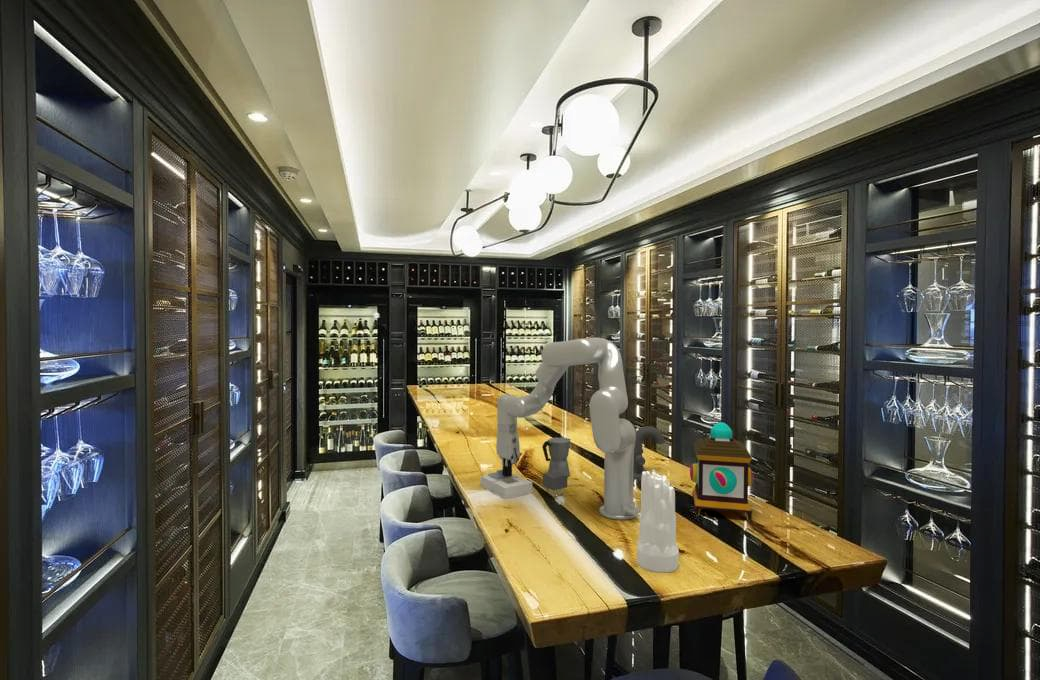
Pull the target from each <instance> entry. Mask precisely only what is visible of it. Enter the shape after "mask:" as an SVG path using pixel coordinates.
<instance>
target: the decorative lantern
mask: <svg viewBox="0 0 1040 680" xmlns="http://www.w3.org/2000/svg"><path fill="white" fill-rule="evenodd" d="M693 447H694V452H695V456H696V462H695V463H692V464H691V465H690V468H689V476H690V477H689V478H690V480H691V482H692V483H695V484H694V485H695V486H694V487H693V489H692V492H691V493H692V499H693V505H694V514H695V516H696V517H699V516H700V513H701V510H702V509H703V510H712V511H713V510H715V511H725V512H726V511H727V512H737V513H744V514H745V515H746V520H747V521H748V522H750V521H752V517H753V510H752V507H751V505H750V503H749V498H748V497H749V488H750V486H752V484H753V483H754V474H753V470H752V468H751V467H749V464H750V463H751V461H752V455H751V454H750V452H749V450H748V449H747V447H746V446H745V445H744V443H742V442H741V441H740V440H737V439H735V438H734V437H733V430H732V429H731V427H730V426H729V425H728V424H727V423H725V422H717V423H715V424H714V425H713V426H712V427H711V428H710V433H709V435H707V436H706V437H704V438H698V439H697V440H695V441H694V443H693Z"/></svg>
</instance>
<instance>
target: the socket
mask: <svg viewBox="0 0 1040 680" xmlns="http://www.w3.org/2000/svg"><path fill="white" fill-rule="evenodd" d="M480 487H481V488H483V489H485V490H487V491H489V492H491V493H493V494H494V495H497V496H499V497H501V498H503V499H504V500H507V499H511V498H515V497H516V496H517V497H520V495H521V496H524V494H526V495H529V493H530V494H533V481H531V480H528V479H525V478H523V477H521V476H519V475H517V474H514V473H512V477H509V478H504V479H499V480H497V479H495V478H493V477H490V476H488V474H484V475H480Z"/></svg>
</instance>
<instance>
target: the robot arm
mask: <svg viewBox="0 0 1040 680" xmlns="http://www.w3.org/2000/svg"><path fill="white" fill-rule="evenodd" d="M541 361H542V363H541V364H540V365H539V366H538V368H536V370H535V377H536V379H537V380H538V381H537V383H536V385H535V387H534V388H533V390H532V391H531V392H530V394H527V395H524V396H523V395H522V396H518V397H517V396H515V395H514V394H500V395H499V396H498V397H497V399H496V400H497V401H496V402H497V405H496V407H497V411H496V414H497V417H496V419H497V421H496V422H497V423H496V424H497V425H496V427H497V428H496V429H497V432H496V433H497V434H496V444H495V447H496V455H497V456H498V458H499V459H500V461H501V465H502V469H503V476H505V477H508V476H512V474H513V465H514V464H516V463H517V459H520V456H521V455H520V454H521V449H520V438H519V437H520V436H519V434H518V433H519V432H518V418H519V419H520V418H521V419H522V418H526V417H529V416H532V415H536V414H538V413H539V412H541V411H542V410H543V409H544V407H545V406H546V404H547V403H549V401H550V399H551V398H552V396H553V394H554V390H555V386H556V384H557V383H558V382H559V380H560V379H561V378H562V376H564V374H565V373H566V371H567V370H568V368H569V367H571V366H580V365H581V366H582V365H589V364H594V363H597V364H598V370H597V371H598V372H597V373H598V374H597V376H598V377H597V379H598V385H599V389H598V390H597V391H596V392H594V393H593V394H592V396H591V397H590V400H589V415H590V423H591V430H592V431H591V432H592V438H593V441H594V444H595V446H596V448H597V449H598V451H601V452H602V453H603V454H604V463H603V464H604V466H603V469H604V470H603V471H604V472H603V476H604V477H603V478H604V479H603V487H604V489H603V494H604V495H603V502H604V503H603V505H601V506H600V507H599V511H598V512H599V514H600V515H601V516H604V517H605V518H607V519H611V520H621V521H623V520H624V521H625V520H632V519H635V518H636V517H638V516H639V514H640V512H641V508H638V507H636V502H635V501H634V479H633V461H634V447H635V439H636V433H635V432H636V429H635V425H634V424H632V422H631V421H630V420H628V419H626V418H620V415H621V414H623V413H624V412H625V411H626V410H627V408H628V405H629V399H628V394H627V386H626V378H625V374H624V366H623V359H622V355H621V352H620V349H619V348H618V346H616V344H615V343H613V342H612V341H610V340H608V339H606V338H602V337H587V338H576V339H570V340H563V341H554V342H553V341H552V342H549V343H547V344H546V345H545V346H544V347H543V348H542V351H541Z"/></svg>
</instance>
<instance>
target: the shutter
mask: <svg viewBox="0 0 1040 680" xmlns="http://www.w3.org/2000/svg"><path fill="white" fill-rule="evenodd" d="M487 475H488V476H490V477H493V478H495V479H497V480H499V479H504V478H509V477H512V476H508V477H505V476H503V468H502V469H496V472H492V473H491V472H490V473H488V474H487Z"/></svg>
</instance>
